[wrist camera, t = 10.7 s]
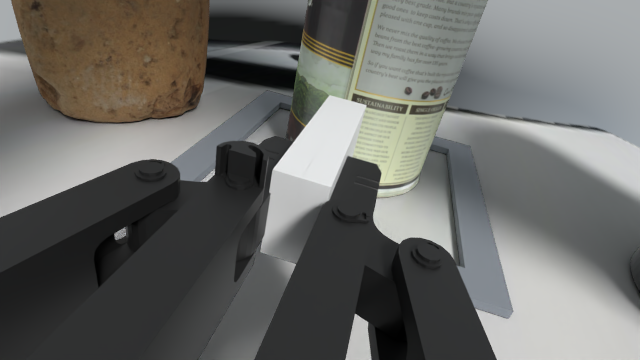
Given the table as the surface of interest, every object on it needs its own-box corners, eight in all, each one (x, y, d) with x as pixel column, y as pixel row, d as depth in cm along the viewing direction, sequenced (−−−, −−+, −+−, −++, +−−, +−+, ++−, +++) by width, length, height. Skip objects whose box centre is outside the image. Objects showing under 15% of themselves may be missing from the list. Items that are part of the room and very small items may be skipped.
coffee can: (254, 159, 25) (284, -99, 18) (318, 117, 34) (357, -70, 26) (401, 221, 22) (507, -55, 15) (431, 158, 31) (509, -38, 23)
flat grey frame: (467, 151, 33) (470, 146, 33) (508, 318, 17) (513, 311, 17) (266, 95, 36) (267, 90, 35) (134, 198, 19) (133, 190, 19)
